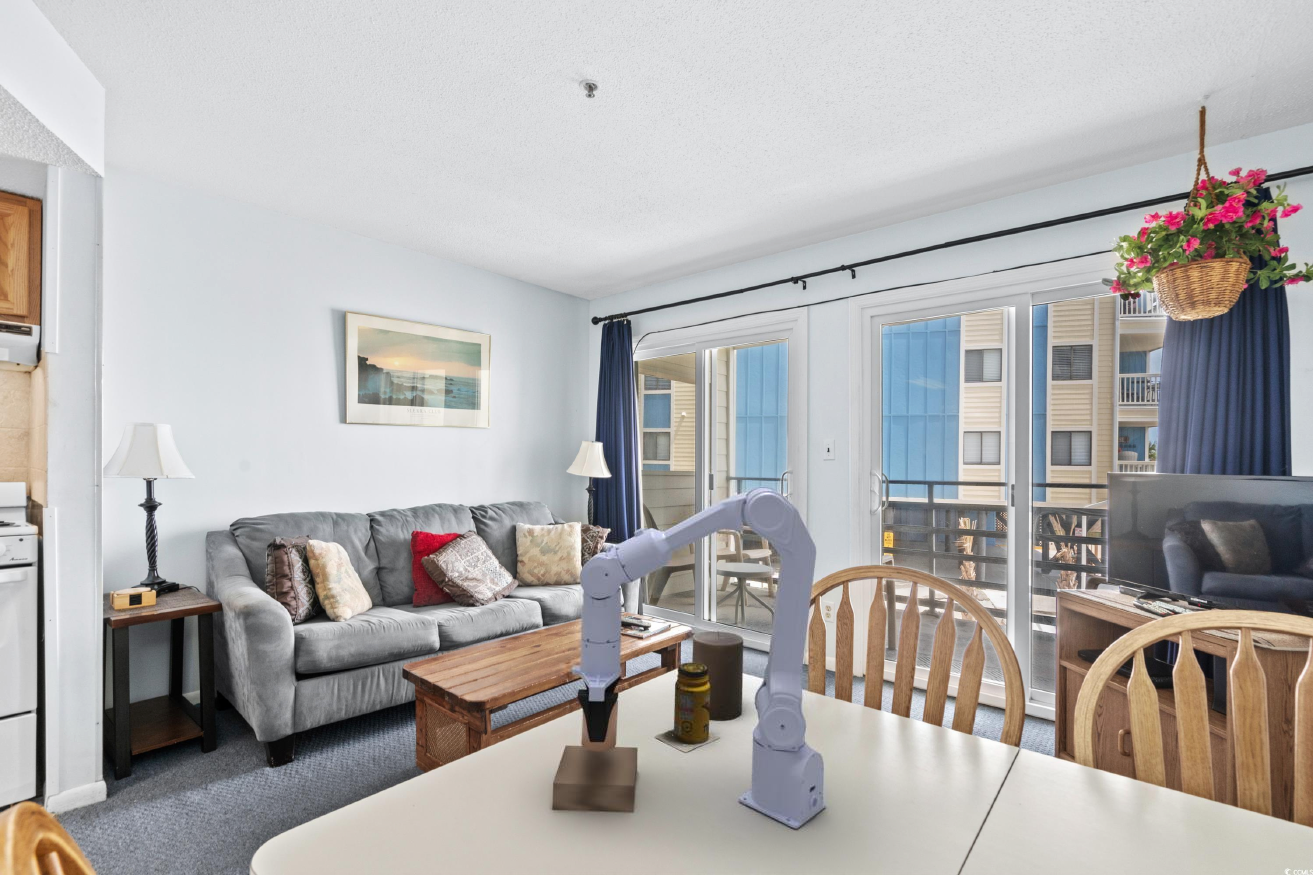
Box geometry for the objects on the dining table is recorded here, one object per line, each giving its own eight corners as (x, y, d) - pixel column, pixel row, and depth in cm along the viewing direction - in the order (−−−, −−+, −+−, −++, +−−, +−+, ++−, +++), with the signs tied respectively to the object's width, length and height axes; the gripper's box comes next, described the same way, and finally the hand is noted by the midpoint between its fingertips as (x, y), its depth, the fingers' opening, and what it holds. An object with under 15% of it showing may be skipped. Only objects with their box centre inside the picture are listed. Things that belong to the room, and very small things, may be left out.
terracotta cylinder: (623, 743, 93) (625, 701, 93) (597, 754, 89) (599, 711, 89) (599, 732, 96) (601, 691, 96) (574, 742, 93) (576, 700, 93)
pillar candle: (739, 723, 116) (741, 639, 117) (685, 716, 118) (688, 634, 119) (744, 703, 126) (746, 626, 126) (695, 697, 128) (697, 621, 128)
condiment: (719, 738, 110) (721, 667, 110) (685, 753, 104) (687, 679, 105) (688, 724, 116) (690, 656, 116) (654, 738, 110) (656, 667, 110)
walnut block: (636, 773, 98) (637, 747, 98) (633, 815, 87) (634, 785, 87) (565, 771, 98) (565, 745, 98) (552, 812, 87) (553, 782, 87)
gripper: (578, 623, 100) (576, 710, 100) (567, 652, 86) (564, 755, 86) (623, 624, 100) (621, 711, 100) (620, 653, 86) (617, 756, 86)
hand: (598, 732), depth 93 cm, fingers closed on terracotta cylinder, 5 cm apart
